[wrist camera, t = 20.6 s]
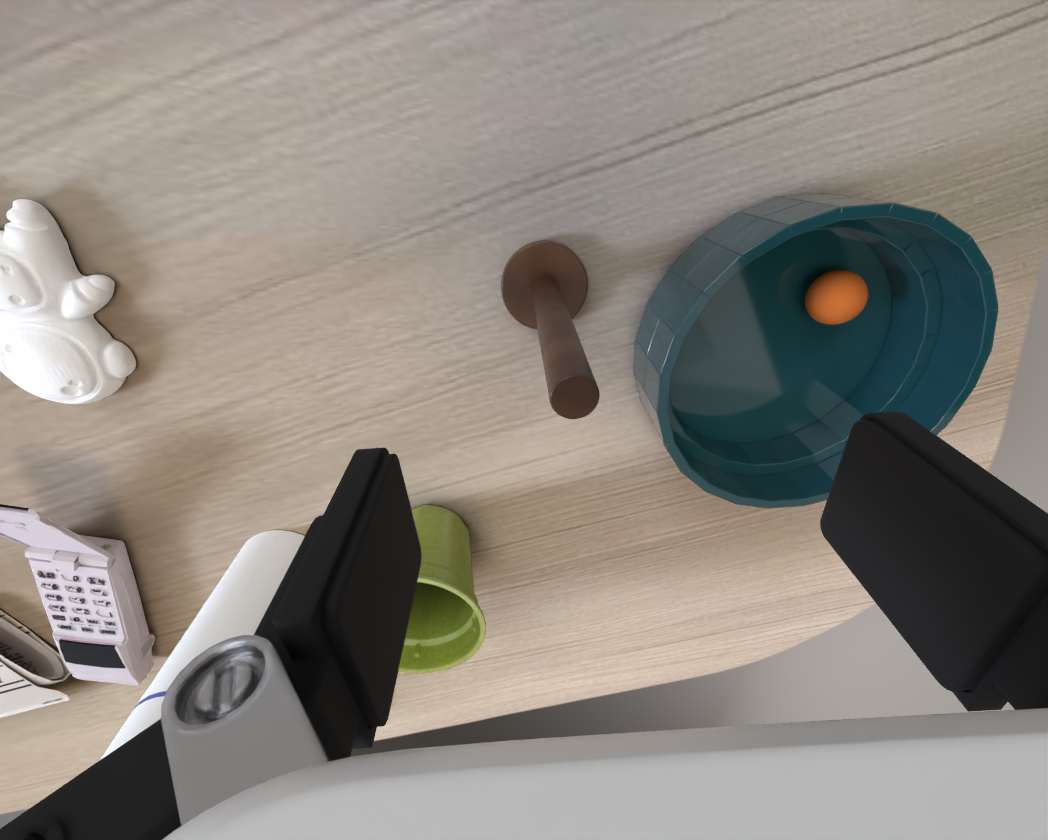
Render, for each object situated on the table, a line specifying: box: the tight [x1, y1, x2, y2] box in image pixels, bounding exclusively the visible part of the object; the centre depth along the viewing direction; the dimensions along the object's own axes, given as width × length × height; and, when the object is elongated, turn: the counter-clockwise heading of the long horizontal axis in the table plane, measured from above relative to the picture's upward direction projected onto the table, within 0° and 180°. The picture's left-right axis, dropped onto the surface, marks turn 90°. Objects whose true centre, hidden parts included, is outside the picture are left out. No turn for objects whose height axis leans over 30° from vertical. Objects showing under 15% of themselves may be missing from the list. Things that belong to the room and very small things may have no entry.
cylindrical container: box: [100, 530, 305, 760], centre depth 28 cm, size 7×7×25 cm
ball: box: [805, 270, 868, 325], centre depth 27 cm, size 3×3×3 cm
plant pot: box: [398, 505, 486, 674], centre depth 34 cm, size 9×9×9 cm
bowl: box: [634, 193, 998, 508], centre depth 28 cm, size 17×17×6 cm
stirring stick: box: [501, 241, 599, 419], centre depth 22 cm, size 5×5×15 cm
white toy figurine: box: [0, 199, 136, 404], centre depth 26 cm, size 9×12×3 cm
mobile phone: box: [0, 504, 155, 685], centre depth 36 cm, size 6×6×25 cm
